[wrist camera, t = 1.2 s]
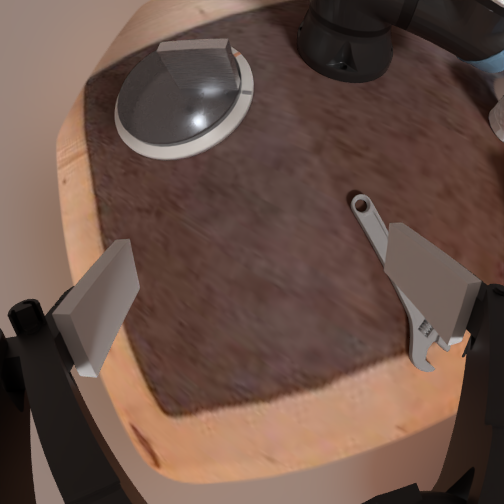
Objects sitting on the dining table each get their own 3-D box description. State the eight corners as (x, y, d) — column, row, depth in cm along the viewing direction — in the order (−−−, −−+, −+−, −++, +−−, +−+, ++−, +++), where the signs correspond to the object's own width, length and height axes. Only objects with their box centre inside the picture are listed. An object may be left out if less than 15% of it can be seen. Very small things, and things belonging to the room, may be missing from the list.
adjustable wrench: (345, 202, 38) (347, 198, 36) (386, 184, 37) (389, 180, 35) (414, 374, 34) (419, 378, 33) (451, 351, 34) (457, 354, 32)
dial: (106, 145, 40) (66, 116, 30) (143, 49, 41) (118, 11, 31) (227, 151, 38) (206, 111, 27) (252, 44, 39) (242, -4, 28)
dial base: (211, 26, 42) (210, 22, 40) (283, 106, 39) (283, 101, 38) (103, 94, 43) (99, 90, 42) (148, 190, 40) (144, 187, 39)
